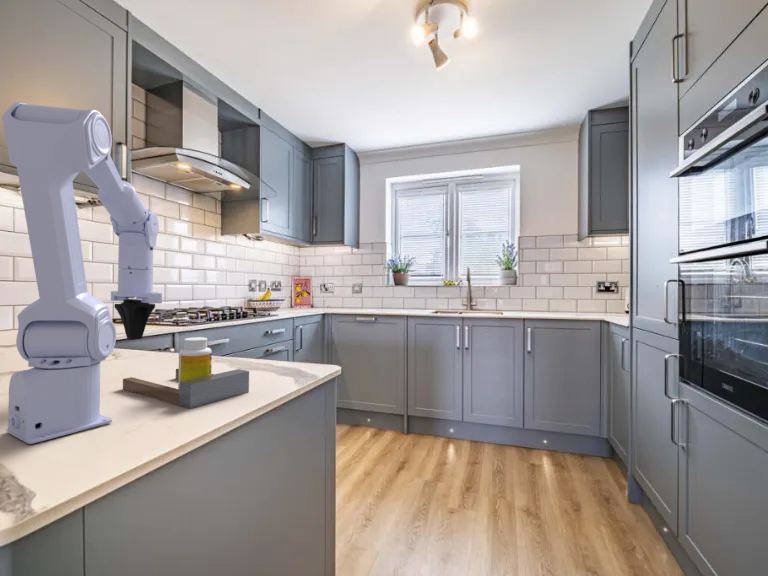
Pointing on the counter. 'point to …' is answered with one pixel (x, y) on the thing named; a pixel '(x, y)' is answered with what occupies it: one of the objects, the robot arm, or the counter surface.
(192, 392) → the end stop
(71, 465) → the counter surface
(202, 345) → the supplement bottle
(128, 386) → the guide rails
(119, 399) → the counter surface
